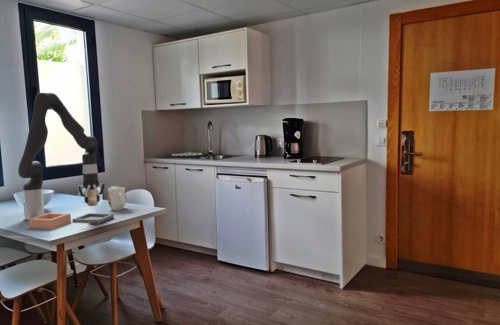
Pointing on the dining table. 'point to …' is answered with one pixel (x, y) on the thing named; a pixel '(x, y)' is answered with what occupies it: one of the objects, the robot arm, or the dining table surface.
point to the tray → (94, 218)
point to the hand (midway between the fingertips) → (92, 202)
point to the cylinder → (92, 197)
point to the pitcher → (116, 197)
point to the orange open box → (49, 220)
